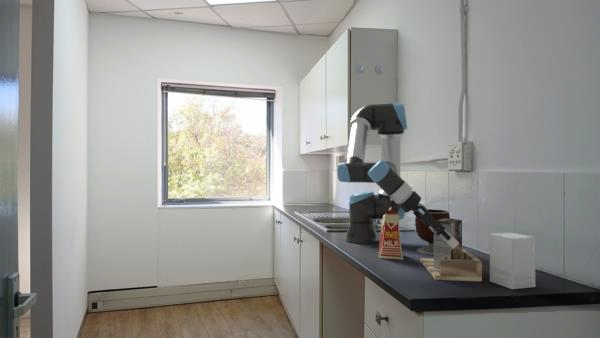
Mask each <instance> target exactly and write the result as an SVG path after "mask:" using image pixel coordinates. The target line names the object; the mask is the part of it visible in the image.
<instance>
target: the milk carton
mask: <svg viewBox="0 0 600 338" xmlns="http://www.w3.org/2000/svg"><path fill="white" fill-rule="evenodd" d="M391 208H392V207H390V208H389V211H388V212H387V213H385V214H384V215H383V220H382V219H381V220H382V221H381V227H380V234H379V235H380V236H379V244H378V245H379V246H378V248H379V249H378V254H379V256H378V259H386V260H387V259H389V260H404V255H403V250H402V240H401V232H400V231H401V230H400V220H399V214H398V213H396V212H394V211H392V210H391Z"/></svg>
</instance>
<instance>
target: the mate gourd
mask: <svg viewBox="0 0 600 338" xmlns="http://www.w3.org/2000/svg"><path fill="white" fill-rule="evenodd" d="M418 205H419V206H423V207H424V208H425V209H426V210H427V211H428V212H429V213H430V214H431V216H432V217H433V218H434V219H436V220H439V219H443V218H450V219H451V217H450V211H449V210H445V209H429V208H427V207H426V206H425V205H424V204H423V203H421V202H419V203H418ZM414 225H415V230H416V231H415V232H416V234H417V236H418V237H419V239H421V240H422V241H425V242H426V243H428V245H427V246H422V247H418V248H417V249H416V251H417V252H418V253H420V254H424V255H430V256H434V232H433V231H432V230H431V229H429V227H430V226H429V227H428V226H426V225H425V224H424V223H423V222H422V220H421V219H419V218H418V217H417V216H415V219H414Z"/></svg>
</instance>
